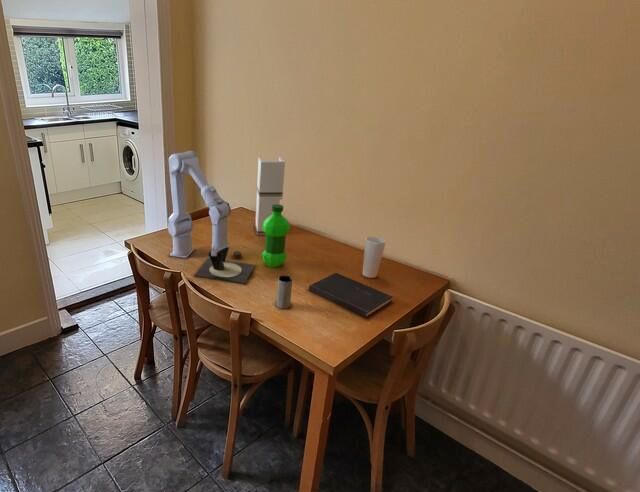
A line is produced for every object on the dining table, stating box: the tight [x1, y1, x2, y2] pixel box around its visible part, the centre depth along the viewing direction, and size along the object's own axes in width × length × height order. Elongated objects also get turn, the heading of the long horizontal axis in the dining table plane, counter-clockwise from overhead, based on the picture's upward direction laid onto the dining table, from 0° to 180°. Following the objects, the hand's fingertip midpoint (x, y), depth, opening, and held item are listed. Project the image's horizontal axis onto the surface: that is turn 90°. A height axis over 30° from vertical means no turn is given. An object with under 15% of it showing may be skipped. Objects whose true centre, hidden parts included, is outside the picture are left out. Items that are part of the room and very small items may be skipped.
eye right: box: [232, 250, 243, 260], centre depth 174 cm, size 4×4×2 cm
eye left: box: [218, 262, 224, 271], centre depth 163 cm, size 4×4×2 cm
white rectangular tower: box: [254, 156, 286, 236], centre depth 194 cm, size 11×11×35 cm
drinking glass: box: [362, 236, 386, 279], centre depth 156 cm, size 7×7×15 cm
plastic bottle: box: [261, 204, 291, 268], centre depth 163 cm, size 10×10×25 cm
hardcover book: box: [308, 272, 394, 319], centre depth 144 cm, size 16×23×2 cm
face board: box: [194, 257, 256, 285], centre depth 163 cm, size 16×20×1 cm
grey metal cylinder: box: [276, 275, 293, 309], centre depth 137 cm, size 4×4×10 cm
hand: (219, 265), depth 163 cm, fingers open, 7 cm apart
